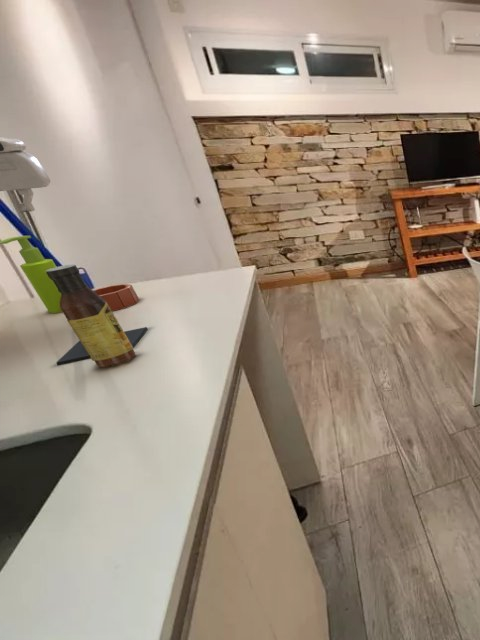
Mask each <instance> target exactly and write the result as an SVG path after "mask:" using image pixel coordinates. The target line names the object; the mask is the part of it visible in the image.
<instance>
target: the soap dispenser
mask: <svg viewBox="0 0 480 640" xmlns="http://www.w3.org/2000/svg"><path fill="white" fill-rule="evenodd" d="M28 239H32V236H31V235H20V236H13V237H8V238H5V239H3V240H0V244H1V245H2V244H3V245H5V244H9V243H12V242H16V241H17V242H18V244H19V245H20V247H21V248H20V250H18V253H19V255H21V257H22V259H23V260H24V262H25V263H22V264H21V265H19V267H20V269H21V270H22V272H23V273H24V275H25V276H26V278H27V279H28V281H29V283H30V284H31V287H32V288H33V289H34V291H35V292H36V293H37V295H38V297H39V298H40V300H41V302H42V304H43V305H44V307H45V308H46V310H47V311H48V313H49V314H58V313H63V312H62V311H61V309H60V299H61V293H60V292H59V291H58V288H57V287H56V285H55V284H54V282H53V280H51V279H50V278H49V277H48V275H47V273H46V270H48V269H52V268H55V267H57V265H56V263H55V262H54V260H53V259H51V258H45V257H44V255H43V254H42V252H41V251H40V249H39V248H38V247H35V246H32V244H31V243H30V241H29V240H28Z"/></svg>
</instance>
